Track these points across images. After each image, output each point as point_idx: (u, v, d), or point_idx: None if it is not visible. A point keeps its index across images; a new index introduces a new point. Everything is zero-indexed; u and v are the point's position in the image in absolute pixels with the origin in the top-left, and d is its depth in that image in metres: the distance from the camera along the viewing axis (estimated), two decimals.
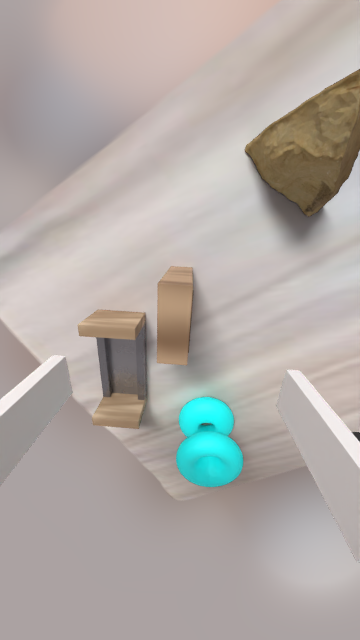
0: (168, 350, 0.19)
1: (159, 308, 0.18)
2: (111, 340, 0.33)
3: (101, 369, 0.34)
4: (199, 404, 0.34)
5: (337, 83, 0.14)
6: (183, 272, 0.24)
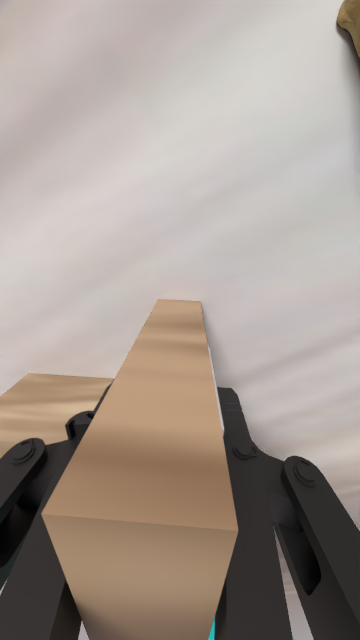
0: None
1: (74, 579, 0.04)
2: None
3: None
4: None
5: None
6: (183, 329, 0.10)
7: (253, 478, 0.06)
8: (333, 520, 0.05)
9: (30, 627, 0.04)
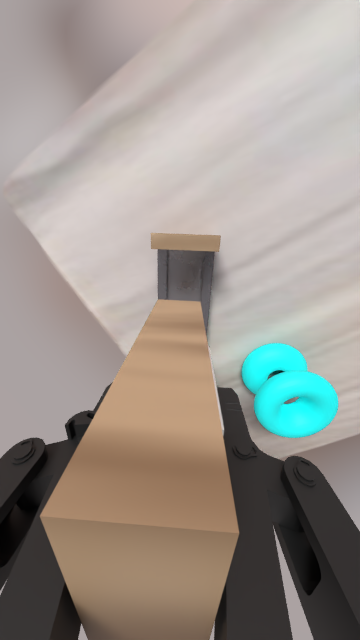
0: None
1: (74, 582, 0.04)
2: (172, 273, 0.28)
3: None
4: (270, 349, 0.30)
5: None
6: (183, 329, 0.10)
7: (253, 478, 0.06)
8: (333, 520, 0.05)
9: (30, 627, 0.04)
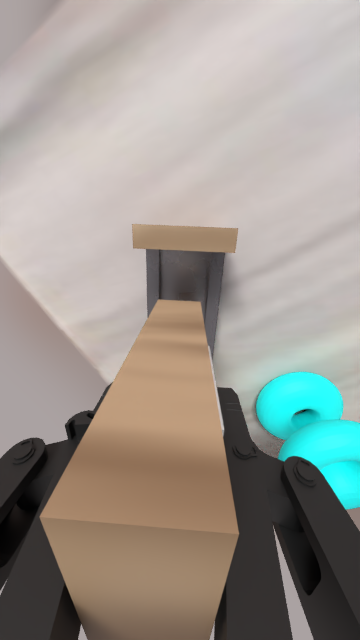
0: None
1: (73, 582, 0.04)
2: (166, 281, 0.21)
3: None
4: (296, 381, 0.23)
5: None
6: (183, 329, 0.10)
7: (253, 478, 0.06)
8: (333, 520, 0.05)
9: (30, 628, 0.04)
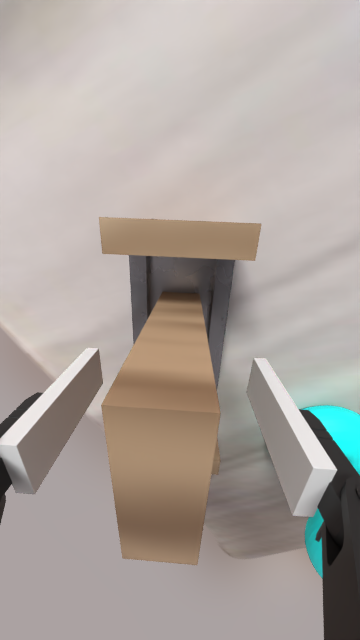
0: (149, 541, 0.07)
1: (115, 463, 0.06)
2: (157, 294, 0.16)
3: None
4: (323, 420, 0.18)
5: None
6: (184, 313, 0.12)
7: None
8: None
9: None
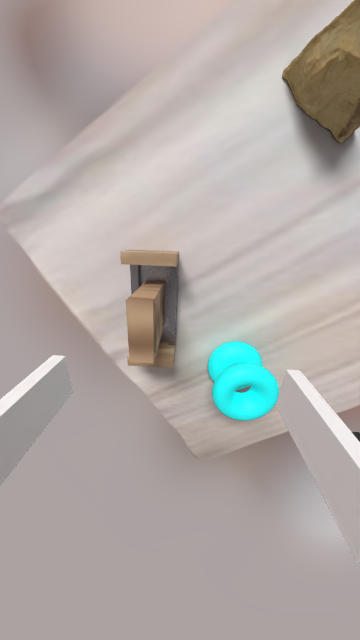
0: (138, 351, 0.24)
1: (128, 319, 0.23)
2: (144, 282, 0.33)
3: None
4: (229, 346, 0.35)
5: None
6: (153, 287, 0.29)
7: None
8: None
9: None
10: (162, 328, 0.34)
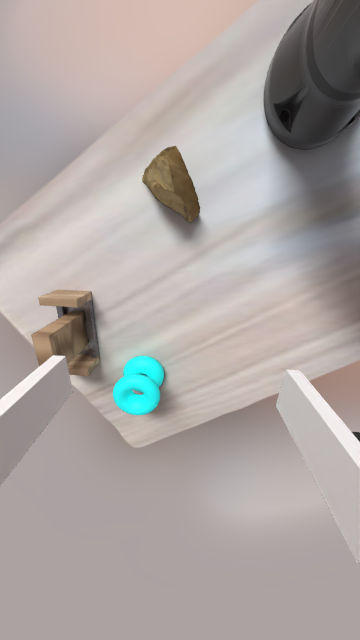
0: None
1: (35, 346, 0.35)
2: None
3: None
4: (135, 360, 0.47)
5: (159, 154, 0.27)
6: (66, 320, 0.40)
7: None
8: None
9: None
10: (83, 346, 0.46)
